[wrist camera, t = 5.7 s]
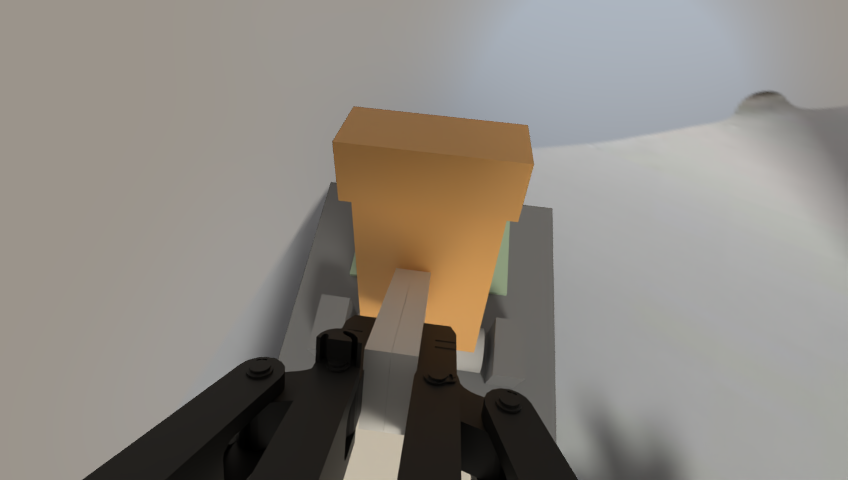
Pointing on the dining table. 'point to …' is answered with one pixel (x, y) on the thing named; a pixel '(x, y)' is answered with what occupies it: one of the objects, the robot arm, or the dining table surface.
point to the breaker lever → (432, 209)
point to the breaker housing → (502, 322)
